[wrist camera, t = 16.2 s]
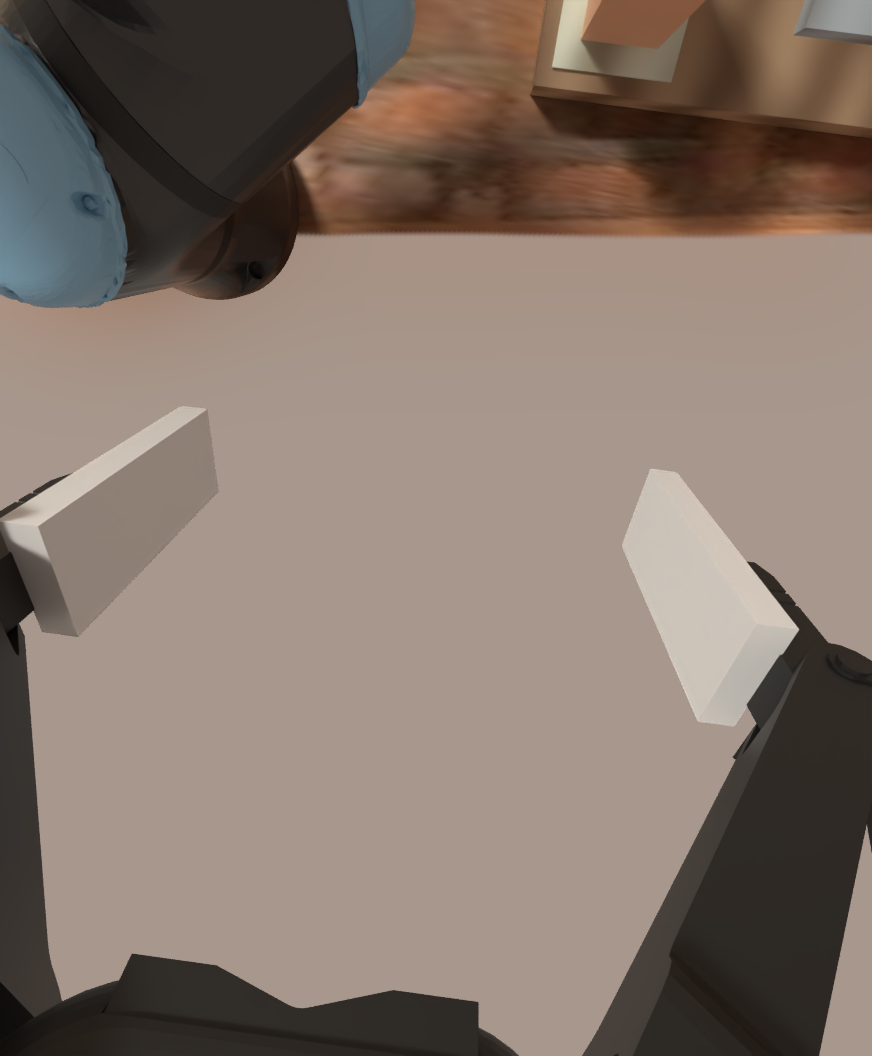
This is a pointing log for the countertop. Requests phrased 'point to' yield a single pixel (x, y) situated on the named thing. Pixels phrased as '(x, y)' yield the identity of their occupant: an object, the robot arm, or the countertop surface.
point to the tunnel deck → (725, 64)
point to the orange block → (635, 21)
